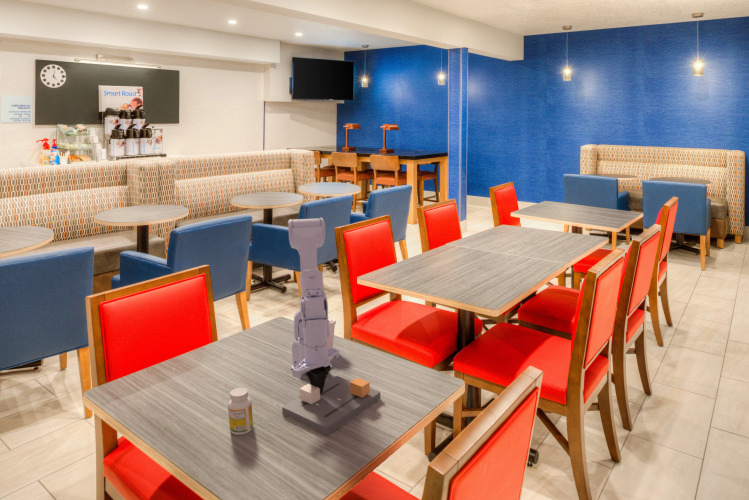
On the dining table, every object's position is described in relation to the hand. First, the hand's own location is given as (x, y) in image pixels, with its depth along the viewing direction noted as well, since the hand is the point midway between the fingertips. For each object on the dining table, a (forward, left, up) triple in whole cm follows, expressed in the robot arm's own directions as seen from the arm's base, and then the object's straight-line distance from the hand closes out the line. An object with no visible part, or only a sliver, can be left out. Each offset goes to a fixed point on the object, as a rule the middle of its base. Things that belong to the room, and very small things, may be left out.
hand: (318, 392), depth 133 cm
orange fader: (+8, +7, -1) cm, 11 cm away
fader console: (+4, +1, -3) cm, 5 cm away
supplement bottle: (-7, -19, -3) cm, 20 cm away
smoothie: (-21, +25, -3) cm, 32 cm away
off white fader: (0, -3, -1) cm, 3 cm away
